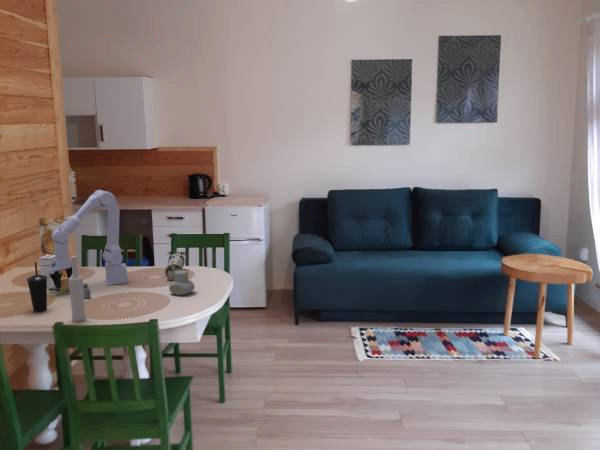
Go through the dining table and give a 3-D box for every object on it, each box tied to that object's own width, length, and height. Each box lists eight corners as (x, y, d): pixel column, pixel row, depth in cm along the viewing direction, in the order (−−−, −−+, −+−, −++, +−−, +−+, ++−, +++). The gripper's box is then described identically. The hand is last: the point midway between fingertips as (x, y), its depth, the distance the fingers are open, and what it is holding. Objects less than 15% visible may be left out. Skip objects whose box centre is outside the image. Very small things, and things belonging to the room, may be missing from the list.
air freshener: (166, 295, 245) (165, 273, 243) (176, 289, 253) (175, 268, 251) (187, 297, 242) (186, 275, 240) (197, 292, 249) (196, 270, 247)
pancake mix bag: (48, 270, 288) (43, 216, 282) (75, 274, 280) (71, 219, 275) (37, 273, 282) (32, 219, 277) (65, 277, 274) (60, 221, 269)
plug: (70, 289, 253) (69, 278, 252) (67, 292, 249) (67, 281, 248) (50, 290, 252) (49, 279, 251) (47, 293, 248) (46, 282, 247)
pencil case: (168, 270, 286) (167, 251, 285) (185, 269, 288) (184, 251, 286) (164, 282, 265) (163, 262, 263) (183, 281, 266) (182, 261, 265)
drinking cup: (34, 307, 230) (29, 260, 226) (53, 306, 231) (48, 259, 227) (26, 313, 223) (21, 265, 219) (46, 313, 223) (41, 264, 220)
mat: (72, 288, 255) (72, 288, 255) (74, 293, 249) (74, 292, 249) (56, 291, 252) (56, 290, 252) (57, 295, 246) (57, 294, 246)
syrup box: (53, 288, 257) (50, 257, 254) (41, 287, 258) (38, 257, 255) (60, 284, 262) (58, 254, 260) (49, 284, 263) (46, 254, 261)
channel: (87, 291, 251) (86, 283, 250) (90, 298, 241) (89, 289, 240) (73, 293, 249) (72, 284, 248) (75, 300, 238) (75, 291, 237)
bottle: (81, 316, 219) (75, 254, 215) (89, 318, 216) (84, 256, 212) (69, 320, 215) (63, 257, 210) (77, 322, 212) (71, 258, 207)
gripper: (56, 260, 240) (59, 291, 242) (80, 253, 253) (83, 282, 256) (44, 259, 242) (46, 289, 245) (68, 251, 255) (71, 280, 258)
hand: (64, 285), depth 250 cm, fingers open, 7 cm apart
